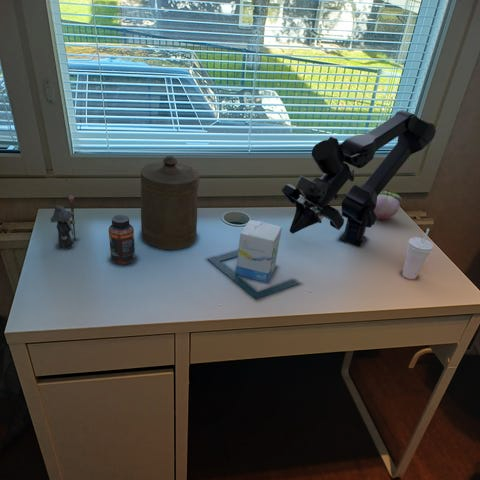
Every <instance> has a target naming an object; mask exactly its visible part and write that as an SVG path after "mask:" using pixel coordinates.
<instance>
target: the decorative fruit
mask: <svg viewBox="0 0 480 480" xmlns="http://www.w3.org/2000/svg"><path fill="white" fill-rule="evenodd" d="M400 201H403V199H402V197H401V196H400V195H399V194H398V193H395V192H390V189H388V190H387V191H385V190H382V191H381V192H380V193H379V195H378V196H377V203H376V207H375V209H374V210H373V211H374V213H375V215H376V216H377V219H378V220H387V219H389V218H392V217H393V216H395V215H396V214H397V213H398V211H399V209H400Z"/></svg>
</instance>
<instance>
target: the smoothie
mask: <svg viewBox="0 0 480 480" xmlns="http://www.w3.org/2000/svg"><path fill="white" fill-rule="evenodd" d="M429 232H430V227H429V228H428V227H427V228H426V231H425V233H424V237H423V238H422V237H410V238H409V239H408V241H407V243H406V244H407V248H406V253H405V257H404V258H405V259H404V263H403V268H402V273H401V275H402V276H403V277H404V278H406V279H409V280H415V279H417V277H418V275H419V273H420V271H421V270H422V268H423V266H424V264H425V262H426V260H427V259H428V257H429V255H430V253H432V252H433V250H434V244H433V243H432V242H431V241H430V240H428V239H427V237H428V235H429Z"/></svg>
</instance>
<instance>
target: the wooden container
mask: <svg viewBox="0 0 480 480" xmlns="http://www.w3.org/2000/svg"><path fill="white" fill-rule="evenodd" d="M199 174H200V173H199V172H198V170H197V169H195V168H194V167H192V166H190V165H187V164H185V163H181V162H180V163H179V162H178V160H177V158H176V157H174V156H173V155H167V156H165V157H163V160H162V161H160V162H152V163H149V164H146V165H145V166H143V167H142V168H141V170H140V224H141V225H140V226H141V229H140V230H141V238H142V240H143V242H145V243H146V244H147V245H149V246H152V247H154V248H156V249H157V248H158V249H163V250H180V249H184V248H188V247H190V246H191V245H193V244H194V243H195V242H196V239H197V225H198V191H199V190H198V188H199V178H200V177H199Z"/></svg>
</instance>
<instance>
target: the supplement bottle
mask: <svg viewBox="0 0 480 480" xmlns="http://www.w3.org/2000/svg"><path fill="white" fill-rule="evenodd" d="M108 238H109V250H110V251H109V252H110V260H111V261H112V263H114V264H116V265H121V266H124V265H125V266H126V265H129V264H132V263H133V262H135V260H136V247H135V244H136V243H135V228H134V227H133V225H132V224H131V223H130V218H129V216H127V215H125V214H116V215H114V216H112V217H111V224H110V225H109V227H108Z"/></svg>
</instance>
